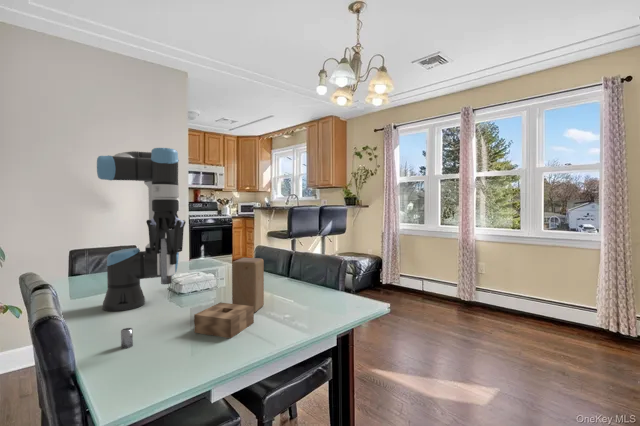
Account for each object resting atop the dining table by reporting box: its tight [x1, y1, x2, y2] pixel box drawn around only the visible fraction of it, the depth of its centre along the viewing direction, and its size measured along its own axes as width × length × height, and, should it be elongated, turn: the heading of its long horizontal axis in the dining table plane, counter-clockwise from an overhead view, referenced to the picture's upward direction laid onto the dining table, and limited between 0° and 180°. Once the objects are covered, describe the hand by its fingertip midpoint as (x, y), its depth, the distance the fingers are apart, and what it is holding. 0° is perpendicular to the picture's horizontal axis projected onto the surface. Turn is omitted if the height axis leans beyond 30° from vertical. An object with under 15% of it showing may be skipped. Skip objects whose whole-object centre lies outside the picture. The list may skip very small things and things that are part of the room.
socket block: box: [193, 302, 255, 339], centre depth 113 cm, size 14×14×6 cm
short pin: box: [120, 327, 134, 350], centre depth 98 cm, size 3×3×5 cm
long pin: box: [160, 238, 173, 285], centre depth 102 cm, size 3×3×14 cm
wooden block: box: [231, 257, 265, 313], centre depth 133 cm, size 10×10×20 cm
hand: (166, 274), depth 102 cm, fingers closed on long pin, 3 cm apart
